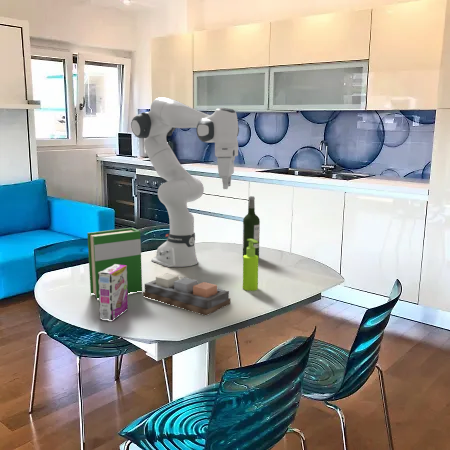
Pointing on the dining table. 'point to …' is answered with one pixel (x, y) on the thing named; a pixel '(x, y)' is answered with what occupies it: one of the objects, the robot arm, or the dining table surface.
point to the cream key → (166, 280)
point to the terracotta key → (205, 289)
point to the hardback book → (115, 256)
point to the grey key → (185, 284)
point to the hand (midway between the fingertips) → (226, 187)
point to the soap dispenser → (250, 268)
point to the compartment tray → (187, 298)
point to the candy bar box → (113, 291)
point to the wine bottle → (251, 227)
